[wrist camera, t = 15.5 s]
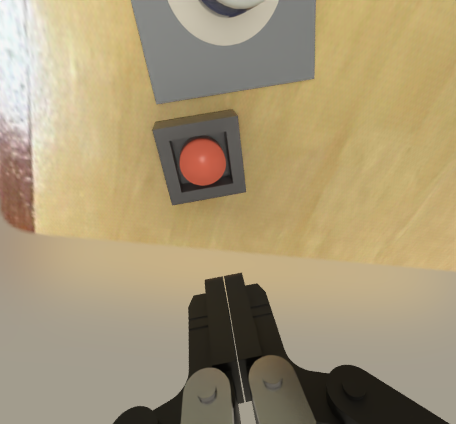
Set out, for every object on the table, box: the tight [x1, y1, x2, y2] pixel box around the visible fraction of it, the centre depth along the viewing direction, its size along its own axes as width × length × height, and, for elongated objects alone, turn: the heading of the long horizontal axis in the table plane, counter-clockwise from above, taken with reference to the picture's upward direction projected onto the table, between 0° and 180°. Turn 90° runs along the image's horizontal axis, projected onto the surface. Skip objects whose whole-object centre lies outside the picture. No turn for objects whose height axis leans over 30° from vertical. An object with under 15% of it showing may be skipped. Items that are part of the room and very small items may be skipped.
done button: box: [180, 135, 226, 186], centre depth 26 cm, size 4×4×2 cm
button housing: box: [153, 109, 246, 205], centre depth 26 cm, size 7×7×3 cm
